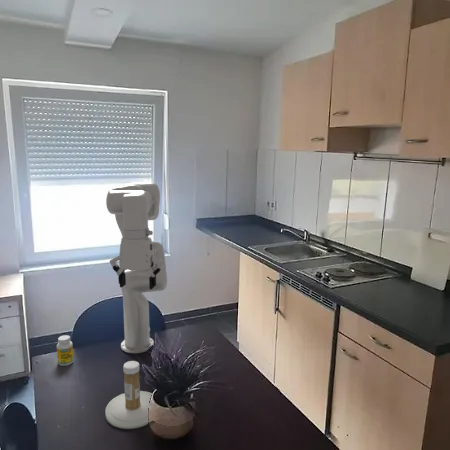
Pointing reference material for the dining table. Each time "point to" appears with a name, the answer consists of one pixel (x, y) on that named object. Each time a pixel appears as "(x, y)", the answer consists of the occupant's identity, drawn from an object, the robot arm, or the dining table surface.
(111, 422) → the dish
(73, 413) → the dining table surface
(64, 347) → the supplement bottle
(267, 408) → the dining table surface
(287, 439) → the dining table surface
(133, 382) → the sprinkles bottle
